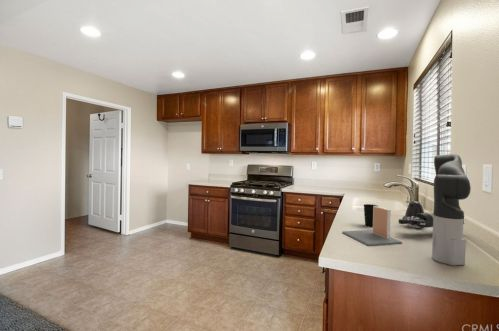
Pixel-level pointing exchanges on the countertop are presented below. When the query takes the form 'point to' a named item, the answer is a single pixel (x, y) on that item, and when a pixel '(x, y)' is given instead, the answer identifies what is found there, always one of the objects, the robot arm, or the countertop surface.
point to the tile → (381, 221)
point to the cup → (368, 214)
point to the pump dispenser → (414, 211)
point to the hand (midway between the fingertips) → (399, 221)
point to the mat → (370, 238)
